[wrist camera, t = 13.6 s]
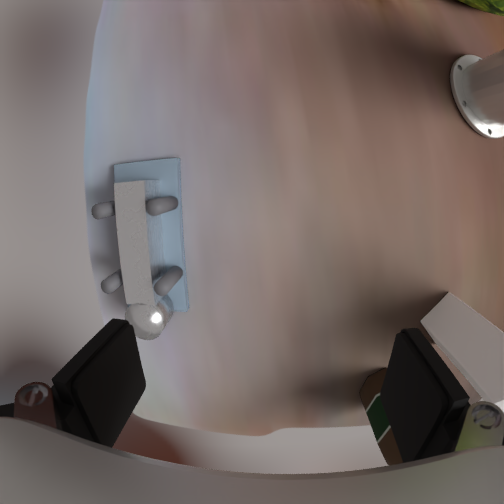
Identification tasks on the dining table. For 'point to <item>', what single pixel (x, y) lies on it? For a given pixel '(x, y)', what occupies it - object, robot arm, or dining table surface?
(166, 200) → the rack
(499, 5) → the lettuce
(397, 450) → the beer bottle
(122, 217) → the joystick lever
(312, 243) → the dining table surface
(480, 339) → the milk
